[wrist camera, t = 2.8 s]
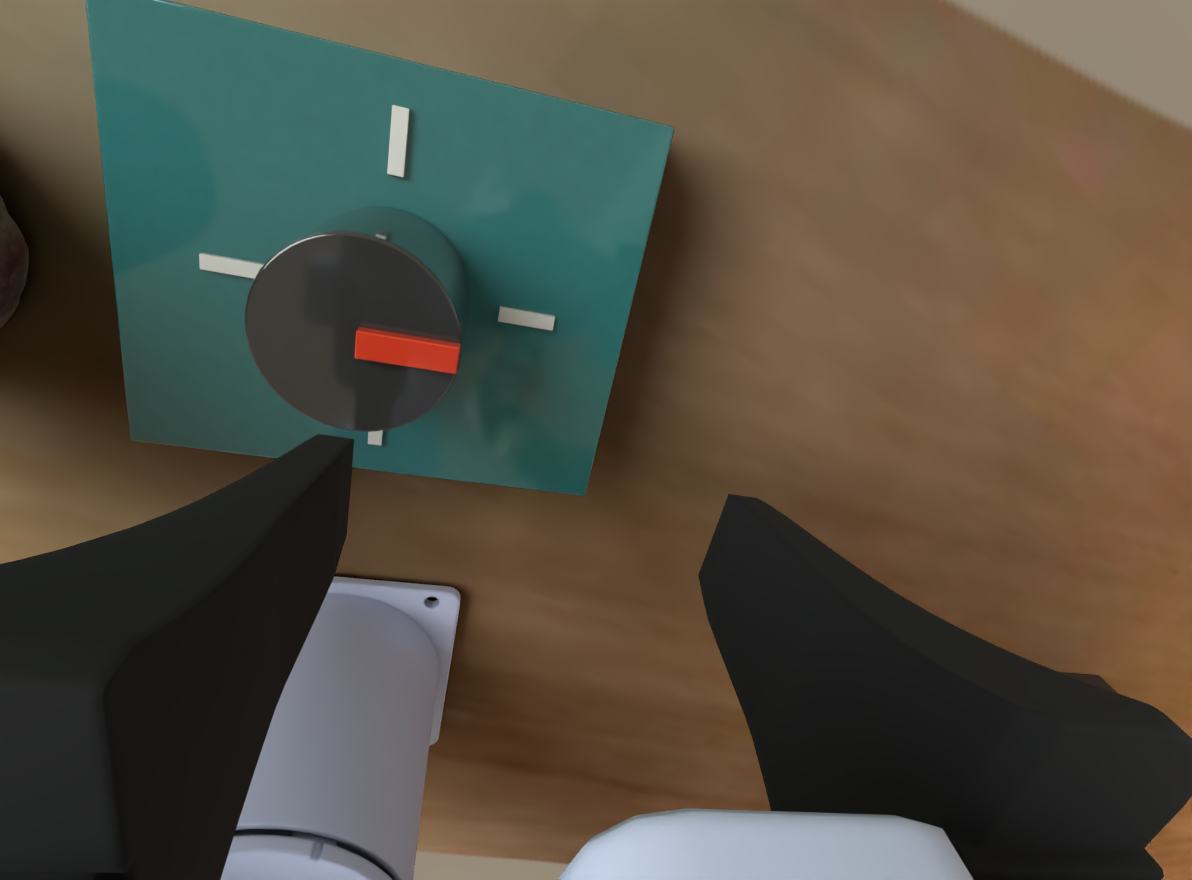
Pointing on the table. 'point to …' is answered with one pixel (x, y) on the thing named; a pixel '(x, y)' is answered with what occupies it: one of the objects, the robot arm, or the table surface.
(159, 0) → the dial panel
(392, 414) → the knob
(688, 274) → the table surface
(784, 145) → the table surface
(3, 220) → the dark brown tall block
